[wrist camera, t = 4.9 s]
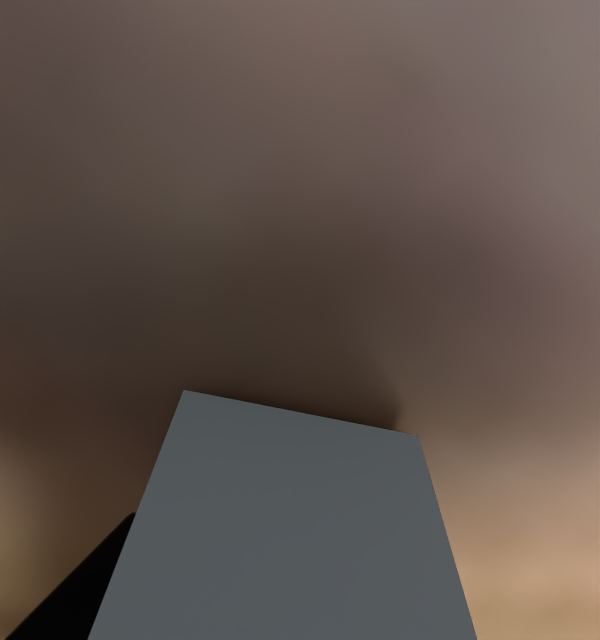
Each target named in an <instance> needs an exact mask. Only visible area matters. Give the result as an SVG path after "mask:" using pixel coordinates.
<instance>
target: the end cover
mask: <svg viewBox="0 0 600 640" xmlns="http://www.w3.org/2000/svg"><path fill="white" fill-rule="evenodd" d="M88 640H477V637H476V633H475V630H474V626H473V623H472V620H471V616H470V613H469V609H468V606H467V602H466V599H465V595H464V592H463V588H462V585H461V582H460V578H459V575H458V571H457V568H456V564H455V561H454V557H453V554H452V551H451V547H450V544H449V540H448V537H447V533H446V530H445V526H444V523H443V519H442V516H441V513H440V509H439V506H438V502H437V499H436V495H435V492H434V488H433V485H432V482H431V478H430V475H429V471H428V468H427V464H426V461H425V457H424V454H423V450H422V447H421V444H420V440H419V437H418V435H413V434H408V433H402V432H397V431H392V430H387V429H382V428H377V427H372V426H367V425H362V424H356V423H351V422H346V421H341V420H336V419H331V418H326V417H321V416H316V415H310V414H305V413H300V412H295V411H290V410H285V409H280V408H275V407H270V406H264V405H259V404H254V403H249V402H244V401H239V400H234V399H229V398H224V397H218V396H213V395H208V394H203V393H198V392H193V391H188V390H183V393H182V396H181V398H180V401H179V403H178V406H177V409H176V411H175V414H174V416H173V419H172V422H171V424H170V427H169V429H168V432H167V435H166V437H165V440H164V442H163V445H162V448H161V450H160V453H159V455H158V458H157V461H156V463H155V466H154V468H153V471H152V474H151V476H150V479H149V481H148V484H147V487H146V489H145V492H144V494H143V497H142V500H141V502H140V505H139V507H138V510H137V513H136V515H135V518H134V520H133V523H132V526H131V528H130V531H129V533H128V536H127V538H126V541H125V544H124V546H123V549H122V551H121V554H120V557H119V559H118V562H117V564H116V567H115V570H114V572H113V575H112V577H111V580H110V583H109V585H108V588H107V590H106V593H105V596H104V598H103V601H102V603H101V606H100V609H99V611H98V614H97V616H96V619H95V622H94V624H93V627H92V629H91V632H90V635H89V637H88Z"/></svg>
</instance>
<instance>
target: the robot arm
mask: <svg viewBox="0 0 600 640" xmlns="http://www.w3.org/2000/svg"><path fill="white" fill-rule="evenodd" d="M136 513H137V512H133V513H131V514H129V515H128V516H127V517H126V518H125V519H124V520H123V521H122V522H121V523H120V524H119V525H118V526H117V527H116V528H115V529H114V530H113V531H112V532H111V533H110V534H109V535H108V536H107V537H106V538H105V539H104V540H103V541H102V542H101V543H100V544H99V545H98V546H97V547H96V548H95V549H94V550H93V551H92V552H91V553H90V554H89V555H88V556H87V557H86V558H85V559H84V560H83V561H82V562H81V563H80V564H79V565H78V566H77V567H76V568H75V569H74V570H73V571H72V572H71V573H70V574H69V575H68V576H67V577H66V578H65V579H64V580H63V581H62V582H61V583H60V584H59V585H58V586H57V587H56V588H55V589H54V590H53V591H52V592H51V593H50V594H49V595H48V596H47V597H46V598H45V599H44V600H43V601H42V602H41V603H40V604H39V605H38V606H37V607H36V608H35V609H34V610H33V611H32V612H31V613H30V614H29V615H28V616H27V617H26V618H25V619H24V620H23V621H22V622H21V623H20V624H19V625H18V626H17V627H16V628H15V629H14V630H13V631H12V632H11V633H10V634H9V635H8V636H7V637H6V638H5V639H4V640H88V637H89V635H90V632H91V629H92V627H93V624H94V622H95V619H96V616H97V614H98V611H99V609H100V606H101V603H102V601H103V598H104V596H105V593H106V590H107V588H108V585H109V583H110V580H111V577H112V575H113V572H114V570H115V567H116V564H117V562H118V559H119V557H120V554H121V551H122V549H123V546H124V544H125V541H126V538H127V536H128V533H129V531H130V528H131V526H132V523H133V520H134V518H135V515H136Z"/></svg>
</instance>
